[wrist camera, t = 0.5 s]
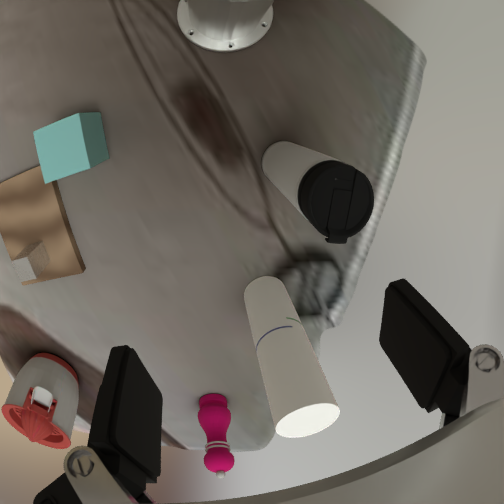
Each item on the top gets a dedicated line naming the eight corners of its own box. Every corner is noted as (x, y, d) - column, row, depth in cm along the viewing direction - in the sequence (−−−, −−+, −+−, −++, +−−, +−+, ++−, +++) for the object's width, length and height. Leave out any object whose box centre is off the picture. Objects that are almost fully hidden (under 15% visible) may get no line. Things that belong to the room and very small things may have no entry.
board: (-9, 187, 33) (-13, 190, 31) (51, 160, 34) (46, 162, 33) (26, 281, 41) (22, 285, 40) (85, 268, 42) (82, 272, 41)
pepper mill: (230, 391, 60) (242, 471, 42) (227, 409, 63) (238, 482, 45) (197, 391, 58) (202, 472, 41) (196, 409, 62) (202, 483, 44)
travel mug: (258, 184, 41) (301, 243, 23) (264, 138, 38) (316, 160, 20) (300, 188, 42) (367, 247, 24) (307, 144, 39) (386, 173, 22)
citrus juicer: (95, 362, 51) (74, 444, 34) (79, 399, 56) (63, 467, 38) (30, 327, 45) (-7, 401, 28) (24, 370, 50) (-1, 434, 33)
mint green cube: (59, 127, 32) (33, 132, 25) (100, 112, 33) (78, 112, 26) (69, 171, 35) (45, 183, 28) (109, 158, 36) (90, 168, 29)
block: (27, 245, 37) (11, 261, 32) (42, 240, 37) (27, 256, 32) (35, 264, 39) (20, 282, 34) (50, 260, 39) (36, 278, 34)
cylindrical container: (244, 276, 47) (279, 409, 25) (287, 275, 48) (347, 397, 26) (243, 312, 50) (272, 441, 28) (283, 310, 52) (330, 430, 29)
